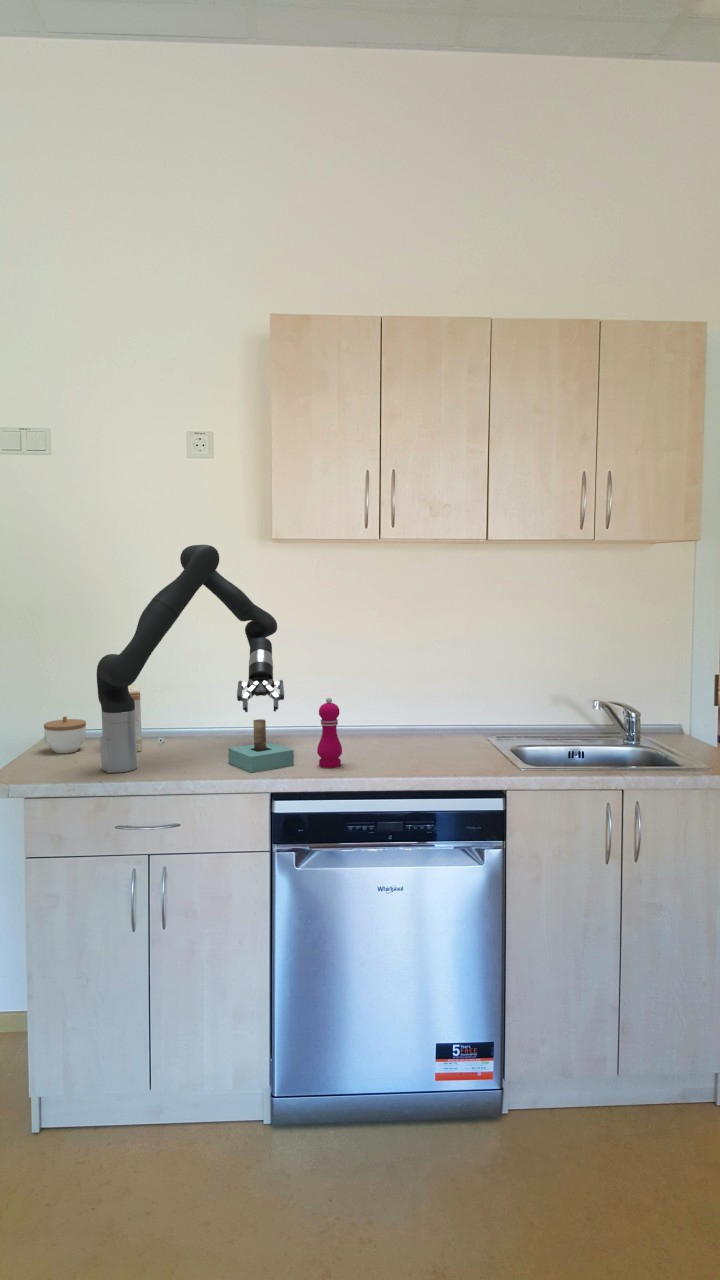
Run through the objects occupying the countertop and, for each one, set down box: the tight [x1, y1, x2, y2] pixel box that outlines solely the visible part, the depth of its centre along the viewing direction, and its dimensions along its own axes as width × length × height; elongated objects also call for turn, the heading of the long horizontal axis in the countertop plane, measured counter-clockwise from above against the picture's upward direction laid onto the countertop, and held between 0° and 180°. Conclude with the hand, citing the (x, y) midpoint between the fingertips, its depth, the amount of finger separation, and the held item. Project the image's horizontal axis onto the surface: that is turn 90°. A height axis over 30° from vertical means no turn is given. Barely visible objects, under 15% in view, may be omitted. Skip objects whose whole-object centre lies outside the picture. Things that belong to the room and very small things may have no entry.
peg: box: [252, 718, 267, 752], centre depth 238 cm, size 4×4×13 cm
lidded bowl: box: [43, 716, 87, 754], centre depth 258 cm, size 13×13×11 cm
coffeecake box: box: [128, 684, 143, 753], centre depth 261 cm, size 15×7×20 cm, turn 21°
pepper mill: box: [316, 697, 343, 769], centre depth 235 cm, size 7×7×20 cm
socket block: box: [228, 741, 295, 773], centre depth 238 cm, size 14×14×4 cm
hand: (260, 710), depth 244 cm, fingers open, 8 cm apart
